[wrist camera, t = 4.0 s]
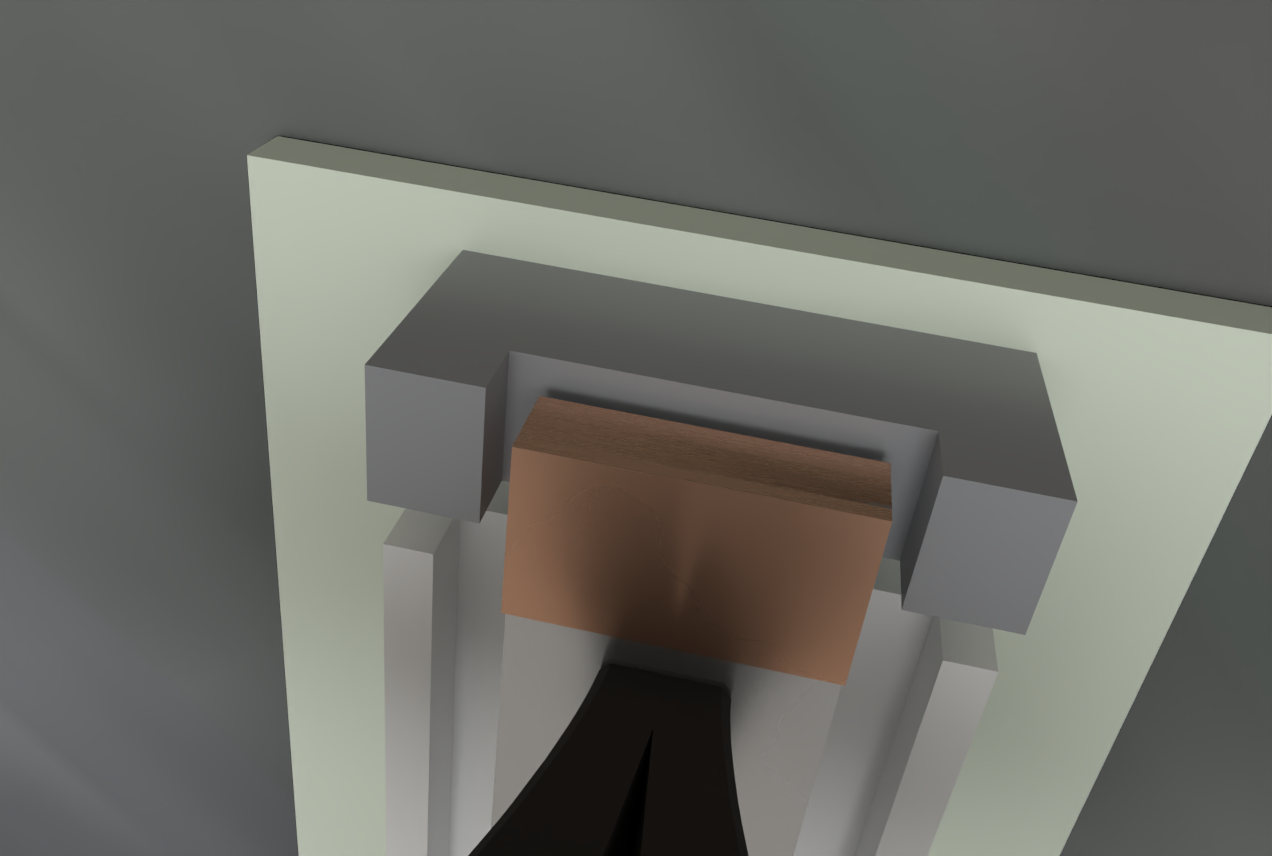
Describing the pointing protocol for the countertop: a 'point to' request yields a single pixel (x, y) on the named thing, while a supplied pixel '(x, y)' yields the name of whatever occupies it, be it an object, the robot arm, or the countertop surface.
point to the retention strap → (686, 588)
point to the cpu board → (1101, 386)
